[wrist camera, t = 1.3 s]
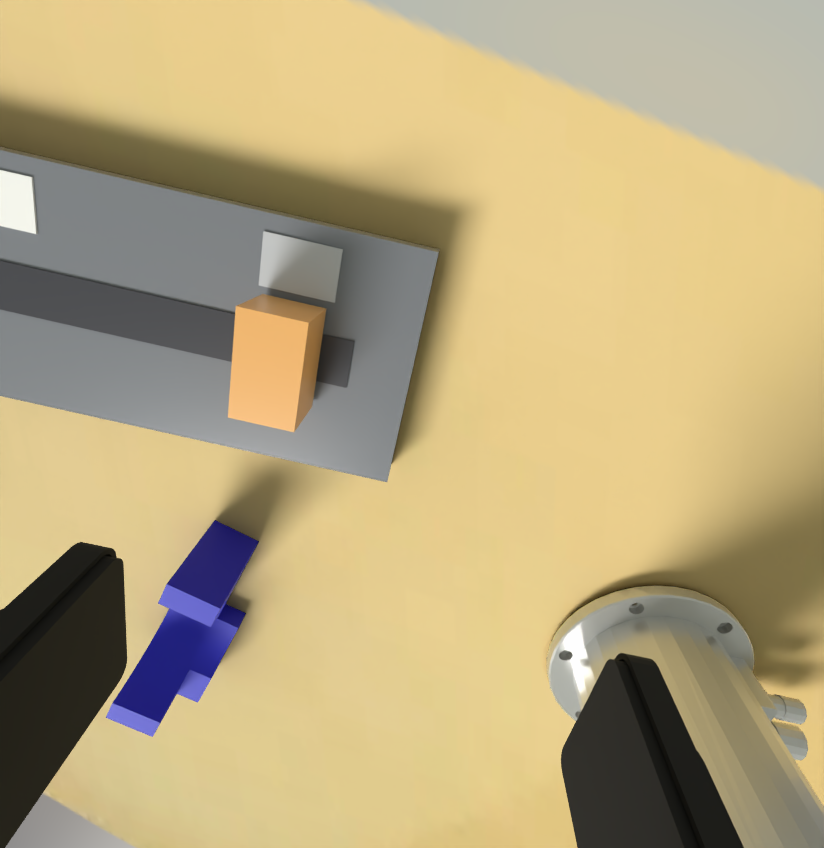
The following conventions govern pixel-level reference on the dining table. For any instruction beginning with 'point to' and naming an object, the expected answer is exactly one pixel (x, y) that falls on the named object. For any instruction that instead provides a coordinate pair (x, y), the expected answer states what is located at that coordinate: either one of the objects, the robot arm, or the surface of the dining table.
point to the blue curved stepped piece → (188, 630)
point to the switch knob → (275, 361)
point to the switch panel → (198, 310)
